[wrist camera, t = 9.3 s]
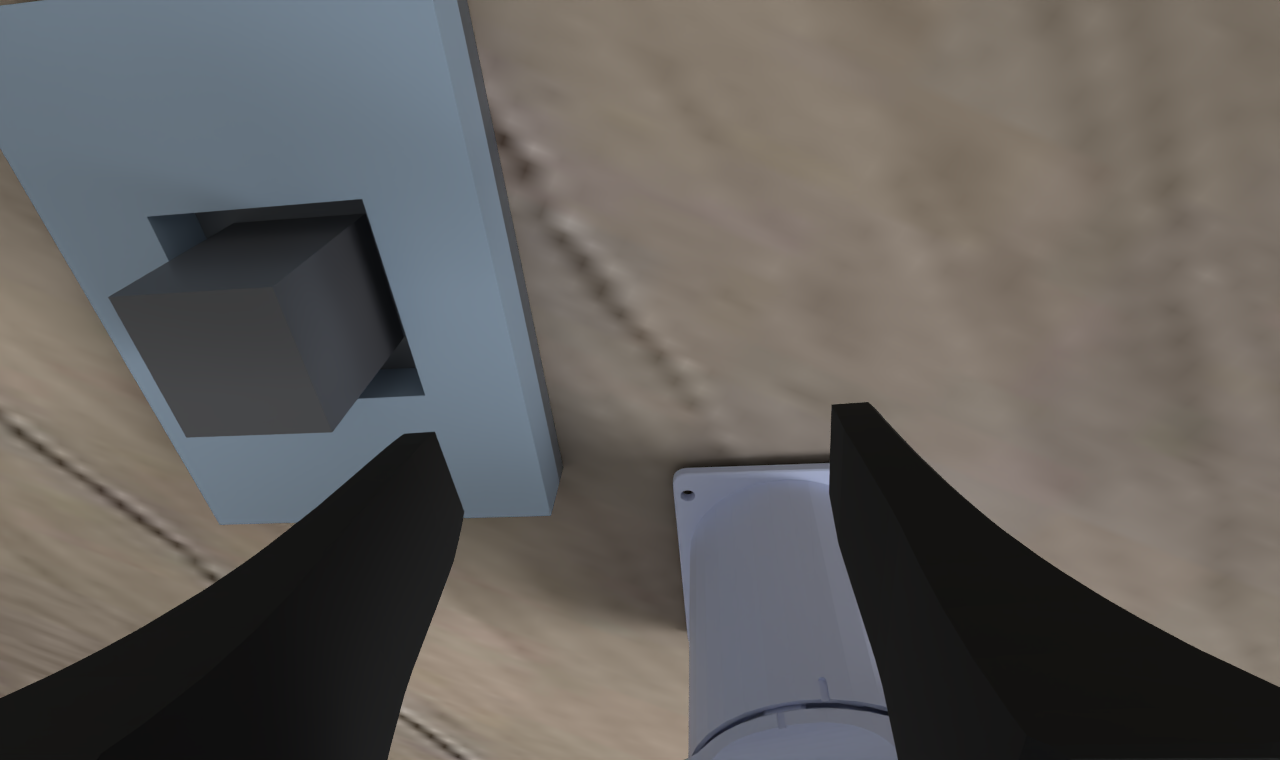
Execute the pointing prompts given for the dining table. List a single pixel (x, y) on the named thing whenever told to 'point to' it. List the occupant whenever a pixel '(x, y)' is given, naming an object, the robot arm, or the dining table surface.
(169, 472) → the dining table surface
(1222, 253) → the dining table surface
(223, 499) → the pale blue socket slab
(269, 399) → the plug
